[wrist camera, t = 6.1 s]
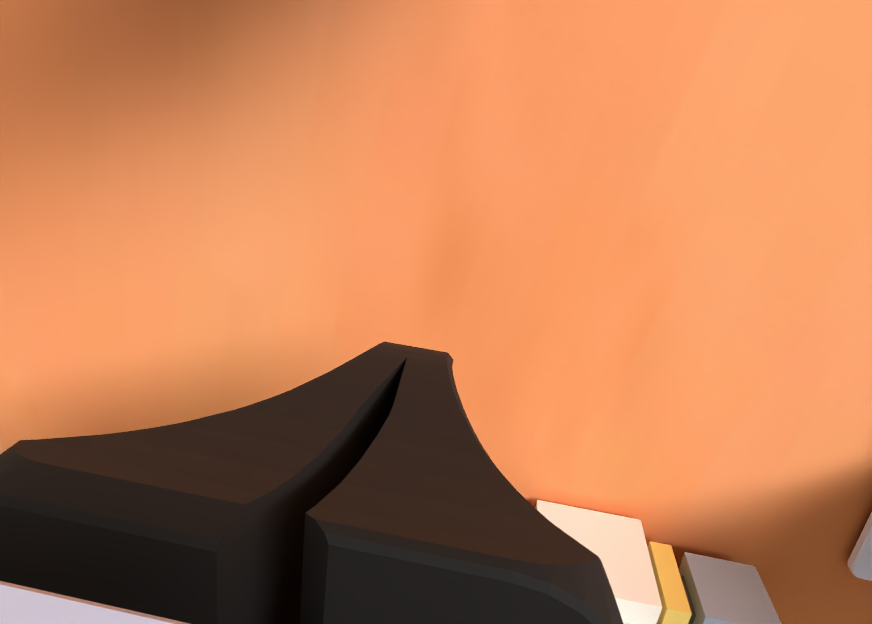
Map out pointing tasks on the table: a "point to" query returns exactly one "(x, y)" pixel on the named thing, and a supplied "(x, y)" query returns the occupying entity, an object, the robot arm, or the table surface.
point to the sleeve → (614, 556)
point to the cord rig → (709, 590)
